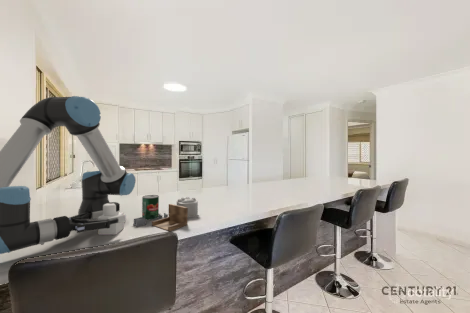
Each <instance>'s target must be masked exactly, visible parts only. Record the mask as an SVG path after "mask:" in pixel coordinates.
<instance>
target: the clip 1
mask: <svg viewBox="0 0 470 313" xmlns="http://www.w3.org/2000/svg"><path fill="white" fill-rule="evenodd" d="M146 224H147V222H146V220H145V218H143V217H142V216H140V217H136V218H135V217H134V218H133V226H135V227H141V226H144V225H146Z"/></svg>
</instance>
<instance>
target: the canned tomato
mask: <svg viewBox="0 0 470 313" xmlns="http://www.w3.org/2000/svg"><path fill="white" fill-rule="evenodd" d="M141 202H142V203H141V204H142V205H141V217H143V218H145V221H155V220H158V218H159V214H160V212H159V203H160V196H159V194H148V195H143V196H142V197H141Z"/></svg>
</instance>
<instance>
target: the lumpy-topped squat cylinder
mask: <svg viewBox="0 0 470 313" xmlns="http://www.w3.org/2000/svg"><path fill="white" fill-rule="evenodd" d="M198 203H199V202H198V200H197V198H196V197H191V198H190V196H186V197H183V196H182V197H181V198H178V199H177V201H176V205H178V206H183V207H188V218H191V217H192V218H193V217H198V214H199V213H198V211H199V208H198V206H199V204H198Z"/></svg>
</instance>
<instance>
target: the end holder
mask: <svg viewBox="0 0 470 313" xmlns="http://www.w3.org/2000/svg"><path fill="white" fill-rule="evenodd" d="M188 218H189V217H188V207H183V206H178V205H177V204H174V203H169V204H168V217H166V218H163V219H159V220H158V219H155V220H151V226H153V227H155V226H156V227H155V228H159V229H161V230H165V231H168V232H171V231H175V230H178V229H181V228H183V227H186V226H188V223H189V221H188V220H189V219H188Z"/></svg>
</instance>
